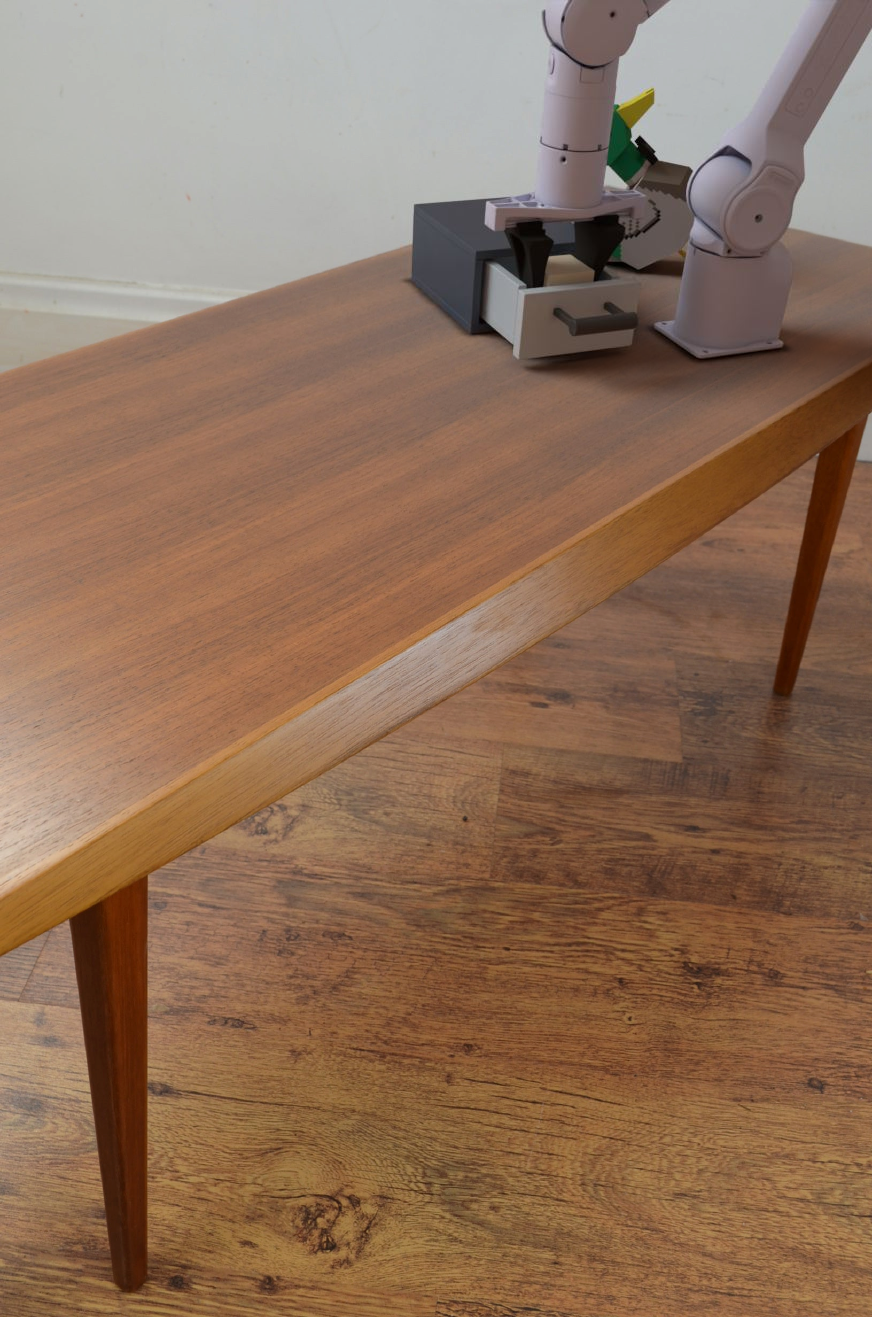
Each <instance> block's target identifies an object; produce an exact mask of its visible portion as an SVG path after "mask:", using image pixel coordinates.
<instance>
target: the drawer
mask: <svg viewBox="0 0 872 1317" xmlns="http://www.w3.org/2000/svg"><path fill="white" fill-rule="evenodd" d="M560 255H572V256H573V257H575V251H565V252H554V253H550V255H549V256H560ZM641 286H642V281H641V280H640V279H638V278H636V277H626V278H620V275H619V273H617V272H615V271H614V270H612V269H610V268H609V267H607V265H605V267H604V269H603V271H602V273H601V275H600V278H599V280H598V281H596V282H587V283H578V284H568V285H559V286H549V287H540V288H531V289H526V287H527V285H526V284H524V283H523V282H522V281H521V280H519V275H518V270H517V266H516V262H515V259H514V256H513V257H502V258H492V259H483V270H482V284H481V298H480V313H479V316H480V317H481V318H482V319H484V320H485V321H486V322H487V323H488V324H489V325H491V326H492V327H493V328H494V329H495V330H496V331H495V332H497V333H499V334H500V335H501V336H502V337H503V338H505V339H506V340H507V341H508V342H509V343H511V345H513V347H512V356H513V357H515V359H517V360H518V361H520V360H521V361H523V360H529V359H536V358H544V357H545V358H546V357H551V356H559V355H568V354H576V353H583V352H589V351H598V350H606V349H614V348H620V347H630V346H632V344H633V337H634V330H635V329H637V328H638V326H639V316H638V314H637V313H638V312H637V311H638V306H639V305H638V304H639V299H640V292H641Z"/></svg>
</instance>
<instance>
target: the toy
mask: <svg viewBox="0 0 872 1317" xmlns="http://www.w3.org/2000/svg"><path fill="white" fill-rule="evenodd" d="M655 94H656V93H655V88H654V87H653V86H651V87H650V88H648V89H646V90H645V91H644V92H641V93H639V94H638V95H637V96H634V97H633V98H632V99H630V100H628V101H625V102H623V103H621V104H617V103H616V104H615V103H614V109H613V117H612V125H611V132H610V140H609V148H608V156H607V164H606V167H609V168H610V169H611V170H612V172H614V173H615V174H616V175H617V176H618V177H619V179H621V180H622V182H624V183H625V184H626V185H627V186H626V187H625V189H624V190H636V191H638V192H640V193H642V194H644V195H645V196H647V199H646V205H645V212H644V218H643V219H631V218H630V217H626V218H619V223H620V224H621V225H623V226H624V227H625V228H626V229H625V236H624V239H623V241H622V242H621V243H620V244H619V246H618V247H617V248H616V250H615V251H614V252H613V254H612V255H611V257H610V259H609V260H608V262H610V263H611V262H613V263H614V262H615V263H616V262H618V263H622V262H623V263H626V264H627V265H629V266H630V267H633V268H634V269H637V270H641V269H643V268H645V267H647V266H650V265H651V264H654V263H656V262H658V261H661V260H662V259H664V258H667V257H670V256H671V255H673V254H675V253H678V254H679V255H680V256H681V257H682V258H683V259H684V260H685V259H686V253H687V252H685V251H684V250H682V249H683V248H684V246H685V245H686V244H687V242H689V236H690V232H691V229H692V227H693V224H694V218H695V216H694V215H693V214H692V213H691V211H690V209H689V207H688V204H687V199H686V189H687V185H688V181H689V179H690V176H691V174H692V173H693V171H694V169H692V168H691V166H687V165H683V164H678V163H673V162H669V161H663V160H659V158H658V157H657V155H656V152H657V151H656V150H655V149H654V148H653V147H652V146H651V145H650V144H649V142H647V141H646V140H645V139H644V138H643V137H642V135H640V134H639V135H638V136H637V138H635V140H634V142H633V141H632V138H633V134H632V128H633V127H635V125H636V124H637V123H638V122H639V121H640V119H642V118H643V116H644V115H645V114H646V113H647V112H648V111H649V110H650V109H651V107H652V106H653V105H654V104H655Z"/></svg>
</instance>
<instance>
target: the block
mask: <svg viewBox="0 0 872 1317" xmlns="http://www.w3.org/2000/svg"><path fill="white" fill-rule="evenodd" d="M594 272H595V271H594V270H593V269H591V268H590V267H588V266H587V265H585V264H584V263H582V262H581V261H579V260H578V259H576V258H575V257H573V256H572V255H560V256H549V258H548V262H547V266H546V270H545V275H544V282H543V287H549V286H559V285H568V284H578V283H587V282H593V280H594Z"/></svg>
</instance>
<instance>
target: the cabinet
mask: <svg viewBox="0 0 872 1317" xmlns="http://www.w3.org/2000/svg"><path fill="white" fill-rule="evenodd" d="M510 197H511V196H504V197H503V196H502V197H491V198H490V197H489V198H479V199H478V198H476V199H475V198H474V199H464V200H463V199H462V200H452V201H451V200H450V201H449V200H448V201H439V202H437V201H436V202H426V203H425V202H424V203H423V202H422V203H414V204H413V218H412V219H413V220H412V244H411V245H412V247H411V278H410V279H411V282H412V283H413V284H414V285H415V286H416V287H417V288H418V289H419V290H421V291H422V293H424V294H425V295H426V296H427V297H428V298H429V299H431V300H432V301H433V302H434V303H435V305H436V304H437V306H438V307H439V308H441V309H442V310H443V311H444V312H445V313H446V314H448V315H449V316H450V317H451V318H452V319H453V320H454V321H455V322H457V324H459V325H460V326H461V327H462V328H463V329H464V330H465V331H466V332H468V333H469V334H470V335H473V334H481V333H482V334H483V333H490V332H497V331H496V330H495V329H494V328H493V327H492V326H491V325H489V324H488V323H487V322H486V321H485V320H484V319H482V318H481V317H480V316H479V313H480V298H481V284H482V270H483V259H492V258H502V257H513V256H514V255H513V252H512V249H511V247H510V244H509V242H508V239H507V237H506V235H505V232H504V231H493V230H492V229H490V228H489V227H488V226H486V225H485V211H486V202H487V201H495V200H501V199H506V198H510ZM543 229H545V230H546V232H545V235H547V236H548V237H550V238H551V239H552V240H553V241H554V244H553V246H552V249H551V252H550V253H554V252H565V251H575V230H574V222H567V223H555V224H544V225H543Z"/></svg>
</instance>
